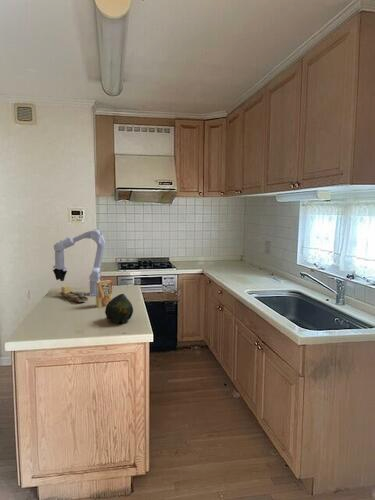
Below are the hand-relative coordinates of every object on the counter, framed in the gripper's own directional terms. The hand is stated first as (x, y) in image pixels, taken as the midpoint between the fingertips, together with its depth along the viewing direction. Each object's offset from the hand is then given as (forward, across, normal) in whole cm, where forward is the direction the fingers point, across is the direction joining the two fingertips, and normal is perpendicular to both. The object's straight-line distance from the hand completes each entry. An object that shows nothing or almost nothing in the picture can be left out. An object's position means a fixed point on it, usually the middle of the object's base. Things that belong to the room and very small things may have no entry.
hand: (60, 280), depth 248 cm
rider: (+7, +8, 0) cm, 10 cm away
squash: (+10, +72, -4) cm, 73 cm away
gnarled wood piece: (+10, +18, 0) cm, 20 cm away
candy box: (+10, +43, +6) cm, 45 cm away
